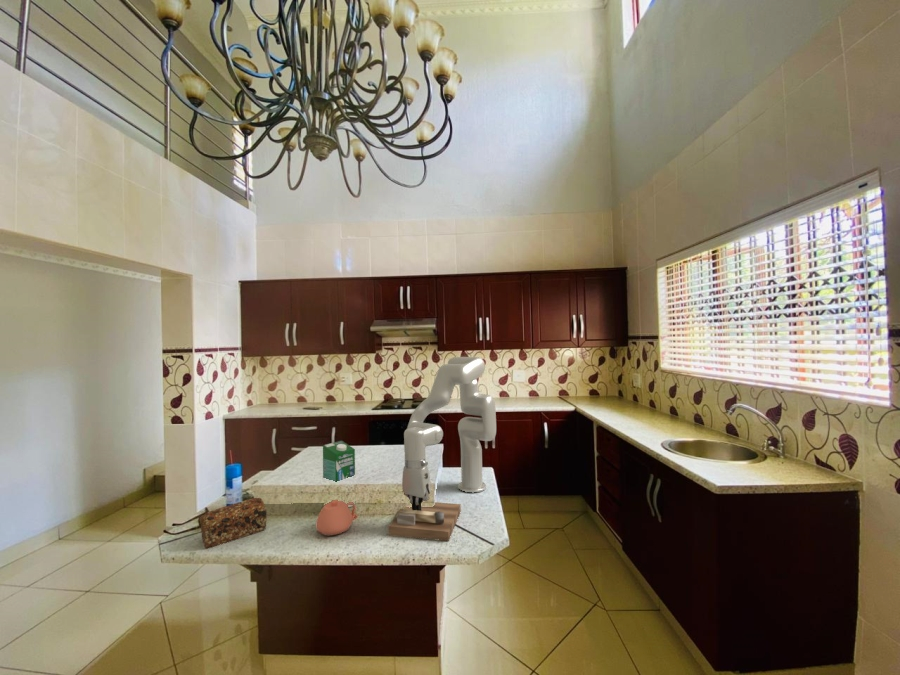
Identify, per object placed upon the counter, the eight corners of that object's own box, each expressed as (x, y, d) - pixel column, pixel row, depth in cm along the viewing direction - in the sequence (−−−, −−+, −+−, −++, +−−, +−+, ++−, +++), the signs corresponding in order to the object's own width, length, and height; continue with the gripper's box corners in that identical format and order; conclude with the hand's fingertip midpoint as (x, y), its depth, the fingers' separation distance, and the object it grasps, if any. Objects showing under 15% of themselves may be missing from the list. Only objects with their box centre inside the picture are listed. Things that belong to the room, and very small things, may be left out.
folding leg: (445, 519, 123) (444, 511, 123) (442, 524, 120) (442, 516, 120) (400, 515, 127) (400, 507, 128) (397, 519, 124) (396, 511, 124)
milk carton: (336, 513, 137) (335, 448, 138) (323, 507, 143) (322, 444, 144) (355, 505, 144) (354, 443, 145) (342, 499, 150) (341, 440, 151)
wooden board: (409, 507, 141) (408, 492, 141) (460, 512, 136) (460, 496, 136) (388, 535, 120) (388, 517, 121) (448, 541, 116) (448, 522, 116)
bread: (260, 520, 133) (260, 493, 133) (267, 531, 125) (267, 502, 125) (200, 538, 121) (200, 508, 121) (203, 551, 113) (203, 519, 113)
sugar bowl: (314, 526, 127) (314, 497, 128) (353, 517, 134) (353, 490, 134) (318, 542, 116) (318, 511, 117) (361, 532, 123) (360, 502, 123)
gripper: (438, 463, 127) (439, 514, 127) (405, 457, 135) (407, 505, 135) (425, 469, 121) (427, 524, 120) (392, 462, 129) (393, 513, 128)
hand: (416, 514), depth 127 cm, fingers closed
